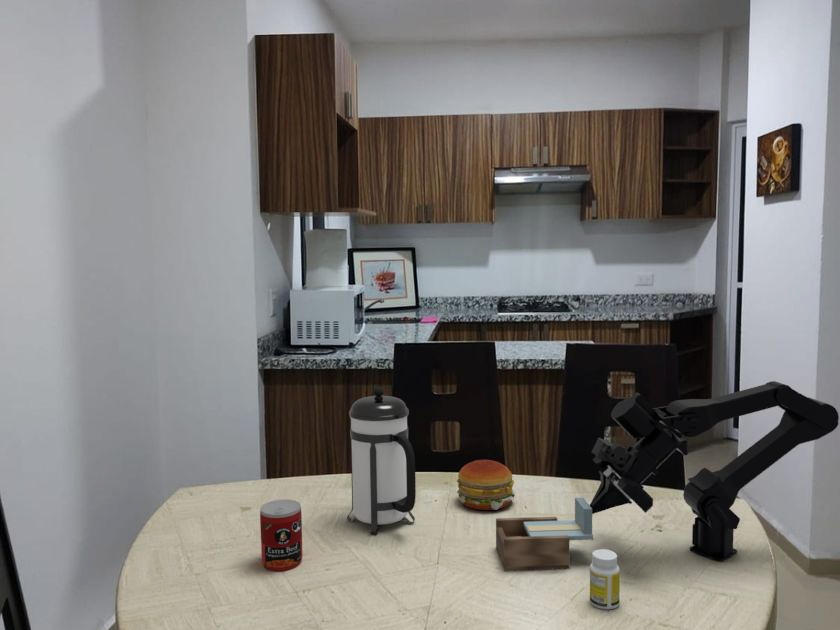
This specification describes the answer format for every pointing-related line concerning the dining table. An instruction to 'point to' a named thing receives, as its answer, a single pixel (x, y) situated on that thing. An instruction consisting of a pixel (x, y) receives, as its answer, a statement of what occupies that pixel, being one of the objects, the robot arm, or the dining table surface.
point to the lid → (566, 524)
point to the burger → (485, 485)
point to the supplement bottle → (604, 579)
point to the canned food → (281, 534)
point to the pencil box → (529, 546)
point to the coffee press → (381, 461)
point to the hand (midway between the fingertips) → (589, 511)
